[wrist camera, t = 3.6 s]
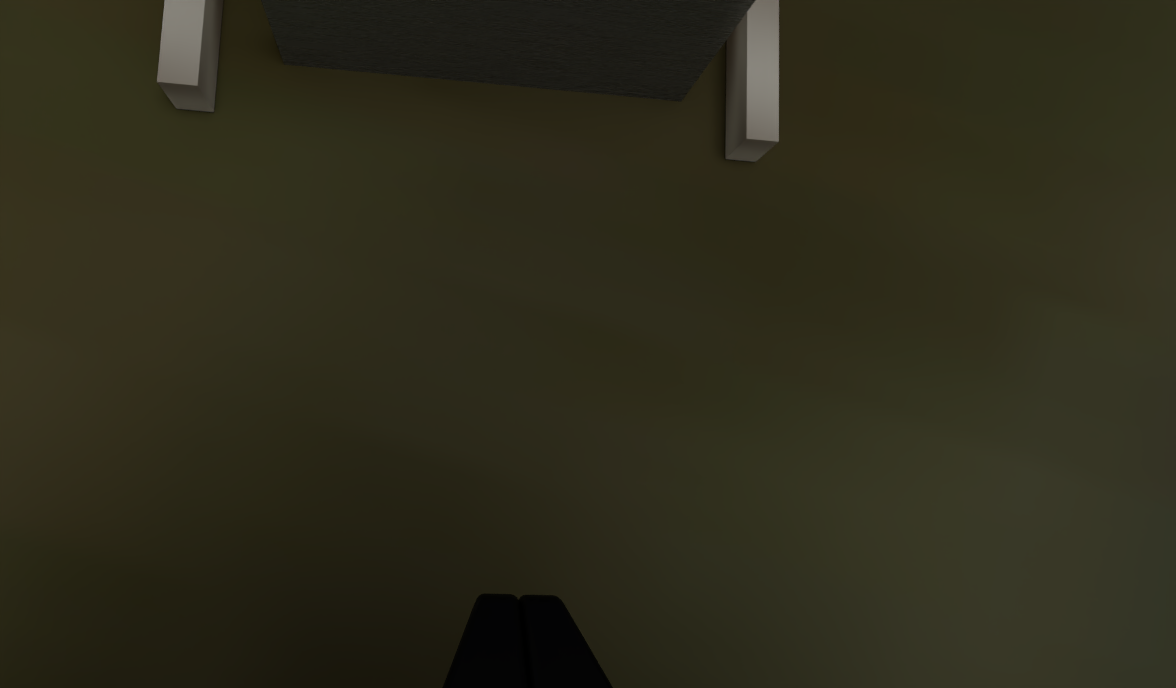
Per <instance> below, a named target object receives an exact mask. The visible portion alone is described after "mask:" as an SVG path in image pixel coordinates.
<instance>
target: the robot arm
mask: <svg viewBox="0 0 1176 688" xmlns="http://www.w3.org/2000/svg"><path fill="white" fill-rule="evenodd" d="M443 688H613V687H612V685H611V684H610V682H609V680H608V679H607V677H606V675H605V673H604V672H603V670H602V668H601V667H600V665H599V663H598V661H597V660H596V658H595V656H594V655H593V653H592V651H591V649H590V648H589V646H588V644H587V643H586V641H585V639H584V637H583V636H582V634H581V632H580V630H579V629H578V627H577V625H576V624H575V622H574V620H573V618H572V617H571V615H570V613H569V612H568V610H567V608H566V606H565V605H564V603H563V602H562V601H561V599H559V598H558V597H556V596H553V595H523V596H521V597H520V599H519V600H518V599H517V597H516V596H514V595H512V594H481V595H479V597H478V598H477V599H476V602H475V604H474V607H473V609H472V612H471V614H470V617H469V620H468V622H467V625H466V628H465V630H464V633H463V635H462V638H461V641H460V643H459V646H458V649H457V651H456V654H455V656H454V659H453V662H452V664H451V667H450V670H449V672H448V675H447V677H446V680H445V683H444V685H443Z"/></svg>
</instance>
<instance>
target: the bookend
mask: <svg viewBox="0 0 1176 688" xmlns="http://www.w3.org/2000/svg"><path fill="white" fill-rule="evenodd" d="M261 1H262V4H263V7H264V10H265V12H266V15H267V18H268V21H269V24H270V26H271V29H272V32H273V35H274V37H275V40H276V43H277V46H278V49H279V51H280V54H281V57H282V60H283V63H284V64H285V65H295V66H306V67H317V68H328V69H338V70H349V71H360V72H370V73H381V74H392V75H403V76H413V77H424V78H435V79H446V80H456V81H467V82H478V83H489V84H499V85H510V86H521V87H531V88H542V89H553V90H564V91H574V92H585V93H596V94H607V95H617V96H628V97H639V98H650V99H660V100H671V101H682V100H683V98H684V97H685V96H686V94H687V93H688V92H689V90H690V89H691V87H692V86H693V85H694V83H695V82H696V81H697V79H698V78H699V77H700V75H701V74H702V73H703V71H704V70H705V68H706V67H707V66H708V64H709V63H710V62H711V60H712V59H713V58H714V56H715V55H716V54H717V52H718V51H719V49H720V48H721V47H722V45H723V44H724V43H725V41H726V40H727V39H728V37H729V36H730V35H731V33H732V32H733V30H734V29H735V28H736V26H737V25H738V24H739V22H740V21H741V20H742V18H743V17H744V16H745V14H746V13H747V11H748V10H749V9H750V7H751V6H752V5H753V3H754V2H755V1H756V0H261Z"/></svg>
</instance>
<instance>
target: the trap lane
mask: <svg viewBox="0 0 1176 688" xmlns="http://www.w3.org/2000/svg"><path fill="white" fill-rule="evenodd" d="M222 11H223V0H165V3H164V14H163V24H162V35H161V46H160V56H159V67H158V77H157V82H158V84H159V85H160V87H161V88H162V89H163V91H164V92H165V93H166V95H167V96H168V98H169V99H170V100H171V102H172V103H173V105H174V106H175V107H176V109H184V110H195V111H206V112H214V105H215V93H216V82H217V70H218V58H219V46H220V35H221V23H222ZM778 142H779V0H756V1H755V2H754V3H753V5H752V6H751V7H750V9H749V10H748V11H747V13H746V14H745V16H744V17H743V18H742V20H741V21H740V22H739V24H738V25H737V26H736V28H735V29H734V30H733V32H732V33H731V35H730V36H729V37H728V39H727V46H726V148H725V159H730V160H741V161H752V162H756V161H757V160H758V159H759V158H761V157H762V156H763V155H764V154H765V153H766V152H767V151H769V150H770V149H771V148H772V147H773V146H774V145H775V144H777V143H778Z"/></svg>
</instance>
